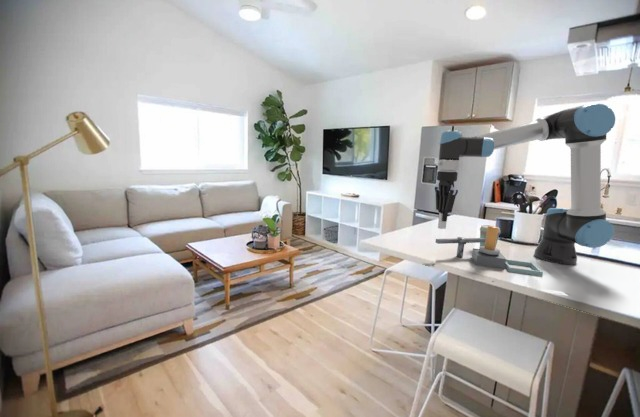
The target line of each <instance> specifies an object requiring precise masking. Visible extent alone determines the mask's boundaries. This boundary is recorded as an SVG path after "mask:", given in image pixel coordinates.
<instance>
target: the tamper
mask: <svg viewBox="0 0 640 417" xmlns="http://www.w3.org/2000/svg"><path fill="white" fill-rule="evenodd" d="M499 228H500V227H499ZM499 228H498V226H495V225H490V226H488V228H487V234H486V241H485V246H480V245H479V248H478V249H479V251H480V252H482V253H483V254H482V255H490V256H495V255H499V253H501V250H500V248H497V244H496V241H497V235H498V229H499ZM497 242H498V241H497ZM495 247H496V248H495Z"/></svg>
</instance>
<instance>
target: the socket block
mask: <svg viewBox="0 0 640 417" xmlns="http://www.w3.org/2000/svg"><path fill="white" fill-rule="evenodd" d="M482 254H483V253H482V252H480V251H479V248H474V247H473V248H472V252H471V259H472V261H473V263H474V264H475V266H478V267H479V266H481V267H486V268H494V269H499V270H500V269H502V270H505V269H506V267H505V263H506V259H507V258H506V257H505V256H504V255H503V253H501V252H500V253H499V255H495V256H490V255H482Z"/></svg>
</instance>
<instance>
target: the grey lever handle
mask: <svg viewBox="0 0 640 417" xmlns="http://www.w3.org/2000/svg"><path fill="white" fill-rule="evenodd" d="M485 241H486V238H480V237H461V236H459V237H458V236H457V238H435V243H436V244H441V245H442V244H457V250H456V258H461V259H462V258H464V250H465V245H467V244H470V243H471V244H473V243H475V244H476V243H477V244H478V243H479V244H480V242H485Z"/></svg>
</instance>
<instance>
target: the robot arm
mask: <svg viewBox="0 0 640 417" xmlns="http://www.w3.org/2000/svg"><path fill="white" fill-rule="evenodd" d="M615 124H616V114H615V112H614V110H613V109H612V108H611V107H609V106H608V105H606V104H604V103H587V104H583V105H579V106H575V107H571V108H566V109H563V110H560V111H558V112H555V113H552V114H548V115H546V116H542V117H539V118H537V119H535V121H532V122H528V123H525V124H520V125H516V126H512V127H508V128H504V129H501V130H500V129H499V130H496V131H492V132H491V131H490V132H488V133H483V134H480V135H475V136H471V137H470V136H467V137H466V136H463V132H461V131H458V130H457V131H455V130H454V131H453V130H447V131H443V132H442V133H441V135H440V136H441V137H440V142H439V151H438V152H439V154H438V164H437V170H438V171H437V173H436V180H437V181H439V182H438V185H437V186H434V192H435V210H436V211H438V222H437V229H439V230H442V229H443V230H446V228H447V222H448V215H449V214H450V213H451V214H452V212H453V208H454V204H455V200H456V196H457V194H458V193H459V190H458V189H455V182H457V181H458V174H459V173H458V172H457V171H458V170H459V165H460V158H468V157H469V158H471V157H472V158H488V157H491V156H492V154H493V153H494V150H498V149H503V148H507V147H511V146H516V145H520V144H524V143H529V142H533V141H540V142H543V141H547V140H556V139H557V140H558V139H559V140H560V139H565V140H564V143H565V145H566V146H567V147H569V148H570V194H571V195H570V196H571V197H570V199H571V200H570V203H571V204H570V206H571V207H570V208H561V207H559V208H557V207H550V208H548V209H547V210H546V213H545V216H544V217H545V221H544V225H543V230H542V236H541V240H540V241H539V244H538V245H537V246H536V248H535V249H534V253H533V254H534V257H536V258H539V259H540V260H544V261H547V262H551V263H555V264H563V265H575V264H577V261H578V256H577V251H576V244H578V245H579V246H582V247H586V248H591V249H596V248H601V247H603V246H606V245H607V244H608V242H610V241H611V240H612V239H613V237H614V234H615V227H614V225H613V224H612V223H611V222H610V221H609V220H607V212H606V211H605V210H604V208H601V194H602V193H601V192H602V191H601V189H602V187H601V176H602V175H601V169H602V168H601V166H602V165H601V162H602V161H601V153H602V152H601V151H602V149H601V147H602V146H601V145H602V144H603V143H604V142H605V141H606V140H607V134H608V133H609V132H610V131H611V130H612V128H614V127H615Z"/></svg>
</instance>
